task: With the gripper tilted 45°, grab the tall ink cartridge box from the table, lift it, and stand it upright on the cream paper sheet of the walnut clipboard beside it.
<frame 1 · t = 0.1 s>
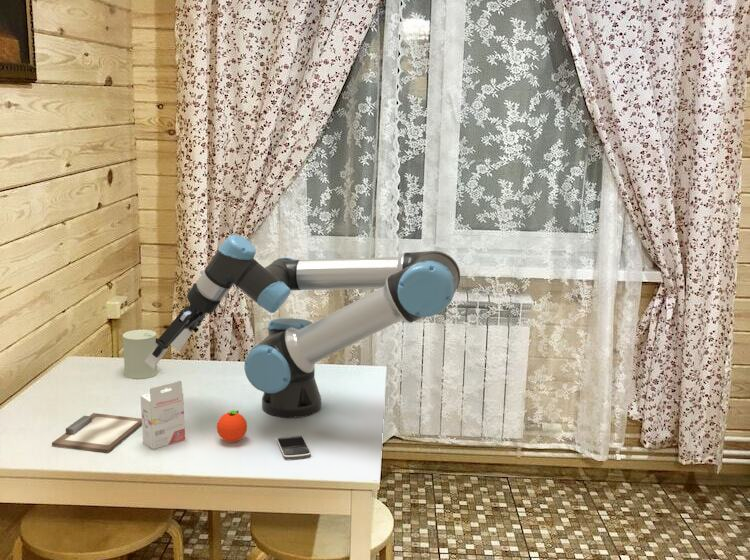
hand: (162, 355, 212), 15 cm above the table, tool tilted 35°, fingers open, 13 cm apart
ink cartridge box: (163, 442, 200), on the table
clementine: (233, 440, 202), on the table
can: (141, 374, 243), on the table
cell phone: (293, 451, 198), on the table
clipboard: (100, 433, 203), on the table
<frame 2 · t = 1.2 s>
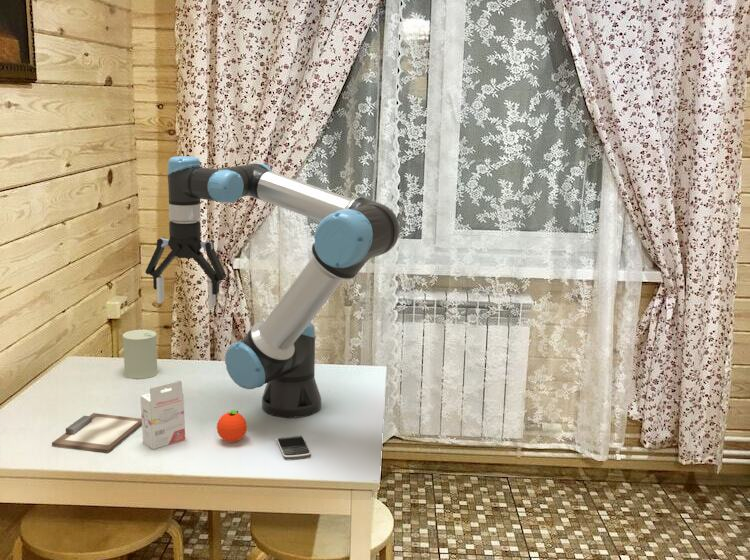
hand: (186, 304, 216), 27 cm above the table, tool pointing down, fingers open, 13 cm apart
nothing on the table moved.
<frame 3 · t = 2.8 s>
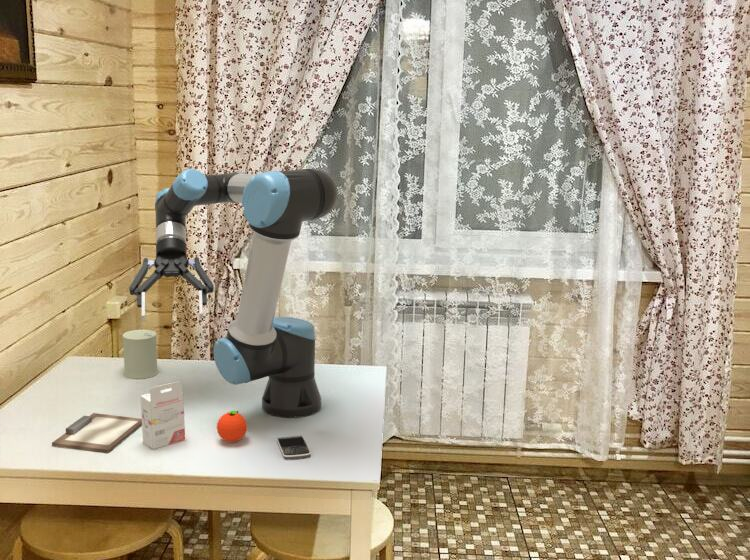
hand: (172, 317, 210), 25 cm above the table, tool tilted 45°, fingers open, 13 cm apart
nothing on the table moved.
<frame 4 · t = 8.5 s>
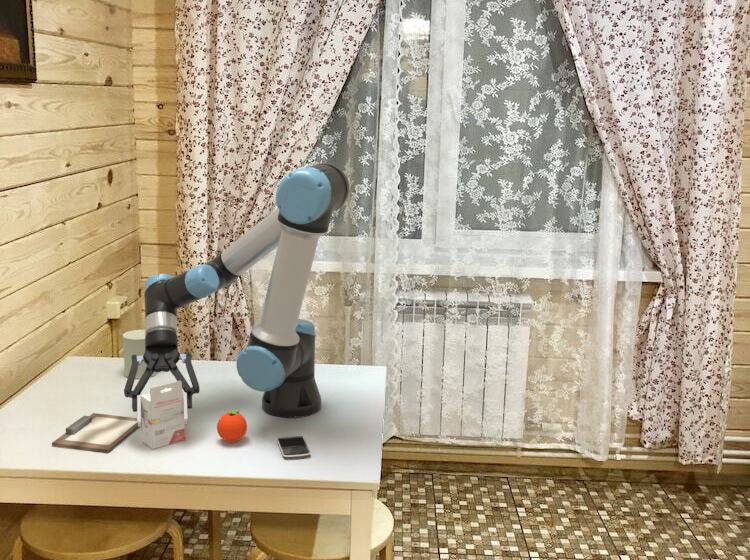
hand: (162, 422, 196), 6 cm above the table, tool tilted 45°, fingers closed on ink cartridge box, 9 cm apart
ink cartridge box: (163, 442, 200), on the table, touching gripper
everything else where it was.
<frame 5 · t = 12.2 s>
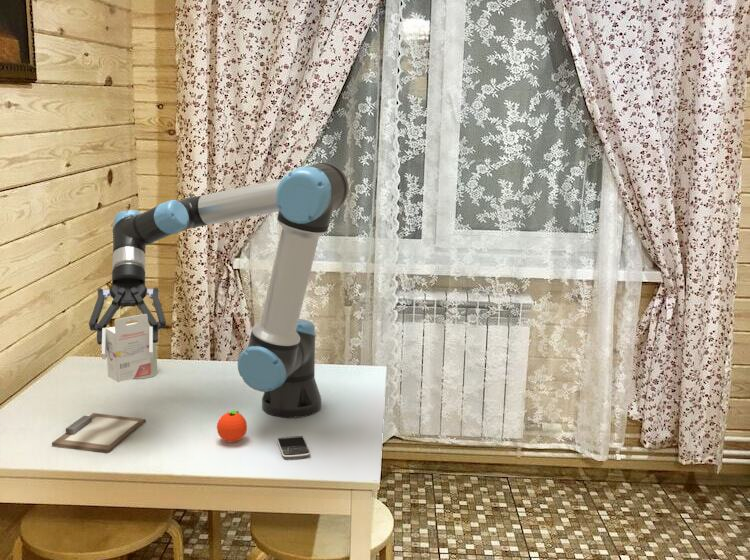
hand: (127, 355, 194), 21 cm above the table, tool tilted 45°, fingers closed on ink cartridge box, 9 cm apart
ink cartridge box: (129, 376, 198), point 15 cm above the table, touching gripper
everything else where it was.
when the fingers open (8 cm above the table, at t = 15.9 s): ink cartridge box drops 1 cm, resting on clipboard.
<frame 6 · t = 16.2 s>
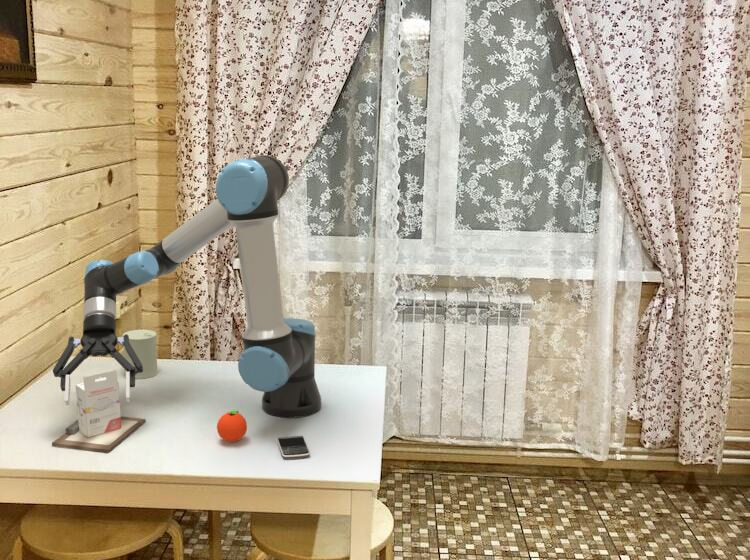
hand: (97, 401, 199), 9 cm above the table, tool tilted 45°, fingers open, 13 cm apart
ink cartridge box: (100, 430, 203), point 1 cm above the table, touching clipboard
everything else where it was.
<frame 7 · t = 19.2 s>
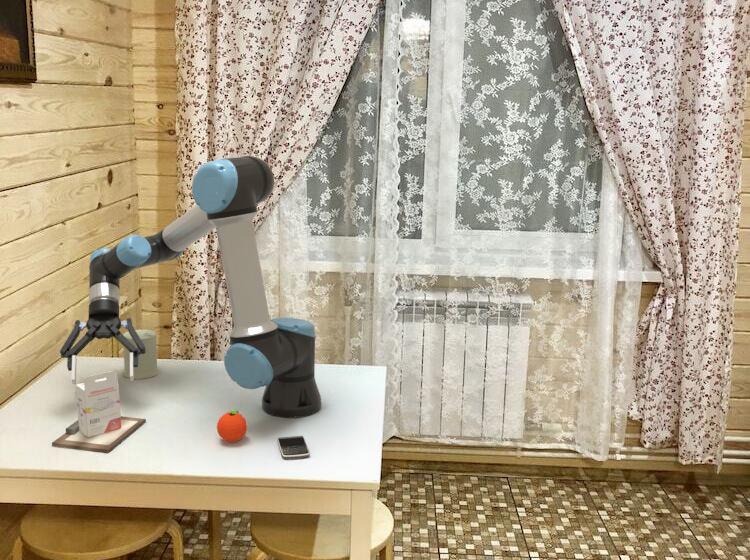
hand: (102, 380, 211), 9 cm above the table, tool tilted 45°, fingers open, 13 cm apart
nothing on the table moved.
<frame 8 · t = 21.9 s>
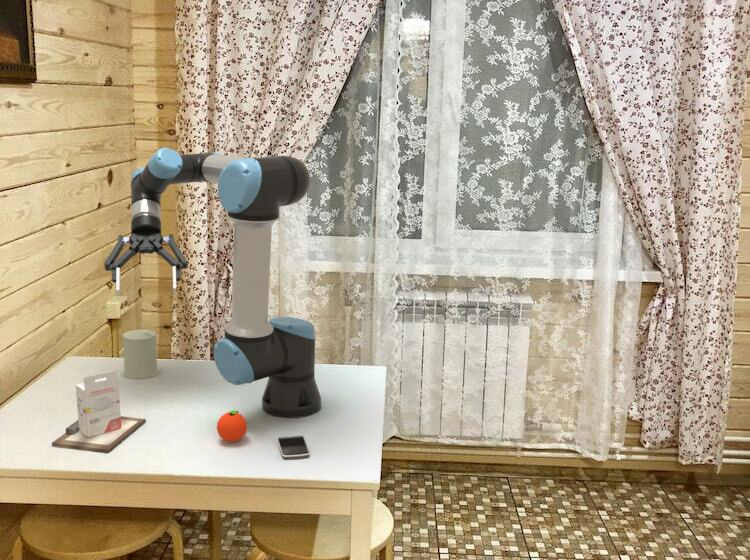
hand: (146, 292, 214), 30 cm above the table, tool tilted 45°, fingers open, 13 cm apart
nothing on the table moved.
at the end: ink cartridge box inside the target area on the clipboard (0.1 cm from its centre), point 0.7 cm above the clipboard's base; ink cartridge box tilted 0°; the gripper is holding nothing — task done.
